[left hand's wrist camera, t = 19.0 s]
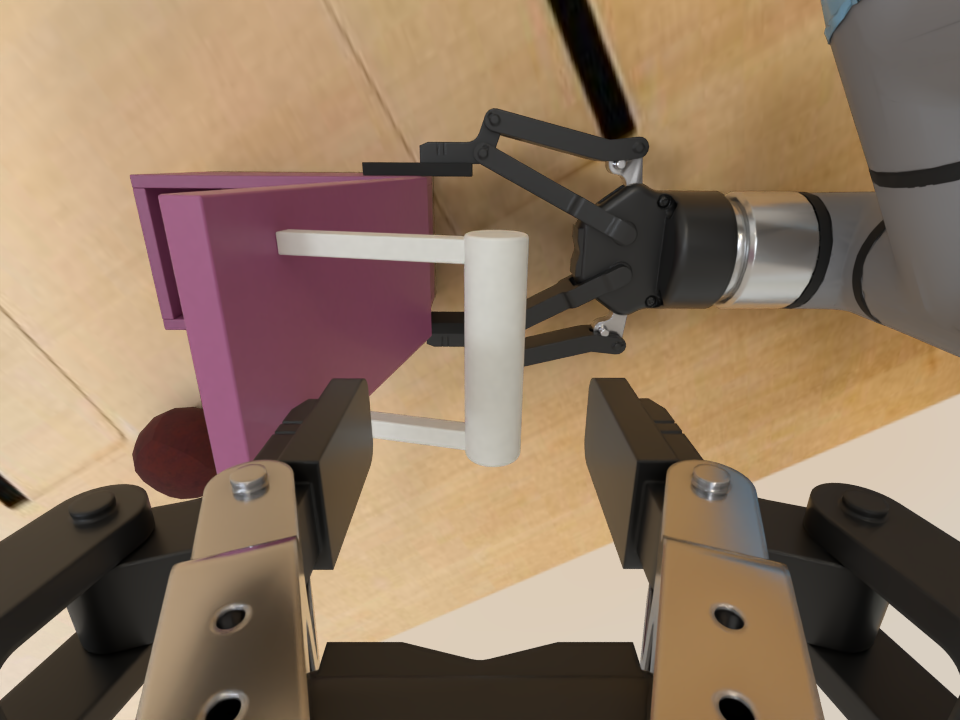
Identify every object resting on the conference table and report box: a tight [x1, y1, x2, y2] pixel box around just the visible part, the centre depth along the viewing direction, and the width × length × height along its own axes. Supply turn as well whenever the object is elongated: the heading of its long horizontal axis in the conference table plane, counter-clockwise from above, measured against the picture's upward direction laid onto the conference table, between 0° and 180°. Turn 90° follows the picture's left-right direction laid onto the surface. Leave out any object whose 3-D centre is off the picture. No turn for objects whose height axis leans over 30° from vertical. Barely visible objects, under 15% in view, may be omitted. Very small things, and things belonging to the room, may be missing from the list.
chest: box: [130, 171, 436, 330], centre depth 35 cm, size 16×9×10 cm, turn 90°
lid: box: [158, 177, 529, 474], centre depth 21 cm, size 17×9×9 cm
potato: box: [132, 407, 217, 499], centre depth 42 cm, size 7×8×7 cm
